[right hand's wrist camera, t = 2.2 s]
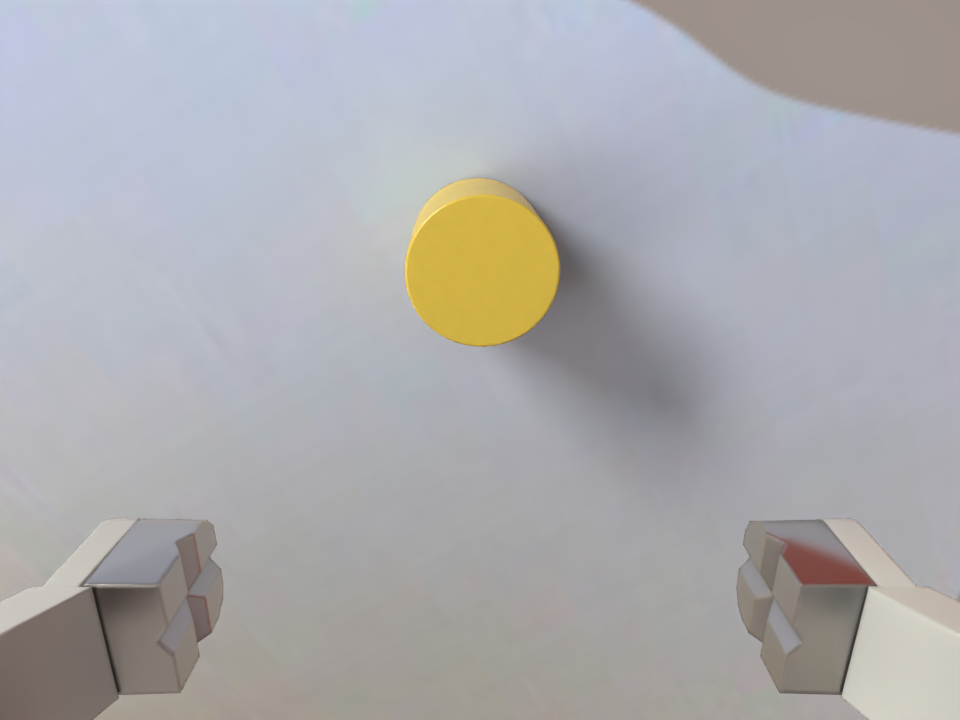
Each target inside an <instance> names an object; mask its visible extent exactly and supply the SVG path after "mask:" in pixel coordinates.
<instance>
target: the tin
mask: <svg viewBox="0 0 960 720" xmlns="http://www.w3.org/2000/svg"><path fill="white" fill-rule="evenodd" d="M559 280H560V259H559V254H558V249H557V246H556V243H555V241H554V238H553V236H552V234H551V232H550V231H549V229H548V228H547V226H546V225H545V223H544V222H543V221H542V219H541V218H540V217H539V215H538V214H537V213H536V211H535V210H534V209H533V207H532V206H531V205H530V203H529V202H528V201H527V200H526V199H525V198H524V196H522V195H521V194H520V193H519V192H518V191H516V190H515V189H513V188H512V187H510V186H508V185H506V184H504V183H502V182H499V181H496V180H492V179H486V178H471V179H464V180H460V181H457V182H454V183H452V184H449V185H447V186H446V187H444V188H442V189H441V190H439V191H438V192H437V193H435V194H434V195H433V196H432V197H431V198H430V199H429V200H428V201H427V203H426V204H425V205H424V206H423V208H422V210H421V211H420V213H419V215H418V217H417V220H416V222H415V225H414V229H413V233H412V236H411V240H410V243H409V247H408V251H407V255H406V260H405V282H406V288H407V291H408V295H409V298H410V300H411V302H412V305H413V306H414V308H415V310H416V311H417V313H418V314H419V316H420V317H421V318H422V320H423V321H424V322H425V323H426V324H427V325H428V326H429V327H430V328H431V329H433V330H434V331H435V332H437V333H438V334H440V335H442V336H443V337H445V338H447V339H449V340H452V341H454V342H456V343H460V344H464V345H469V346H495V345H499V344H503V343H506V342H509V341H512V340H514V339H516V338H518V337H520V336H522V335H524V334H525V333H527V332H528V331H529V330H531V329H532V328H533V327H534V326H535V325H536V324H538V323H539V321H540V320H541V319H542V318H543V317H544V316H545V314H546V313H547V311H548V310H549V308H550V306H551V304H552V302H553V300H554V298H555V295H556V293H557V290H558V285H559Z"/></svg>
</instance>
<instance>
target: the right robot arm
mask: <svg viewBox="0 0 960 720" xmlns="http://www.w3.org/2000/svg"><path fill="white" fill-rule="evenodd" d="M216 545H217V541H216V536H215V532H214V527H213V525H212V524H211V523H210V522H209V521H208V520H181V519H139V518H136V519H108V520H105V521H102V522H101V523H100V524H99V525H98V526H97V528H96V529H95V530H94V531H93V532H92V533H91V534H90V535H89V536H88V537H87V538H86V540H85V541H84V542H83V543H82V544H81V545H80V546H79V547H78V548H77V549H76V550H75V552H74V553H73V554H72V555H71V556H70V557H69V558H68V559H67V560H66V561H65V562H64V564H63V565H62V566H61V567H60V568H59V569H58V570H57V571H56V572H55V573H54V574H53V576H52V577H51V578H50V579H49V580H48V581H47V582H46V583H45V584H44V585H43V586H42V587H30V588H28V589H26V590H24V591H22V592H19V593H17V594H15V595H13V596H11V597H9V598H7V599H5V600H3V601H1V602H0V720H93V719H94V718H95V717H96V716H98V715H99V714H100V713H101V712H103V711H104V710H105V709H106V708H107V707H109V706H110V705H111V704H112V703H113V702H115V701H116V700H117V699H118V698H119V696H118V695H129V694H163V693H181V691H182V689H183V687H184V685H185V684H186V682H187V680H188V678H189V676H190V674H191V672H192V670H193V668H194V666H195V664H196V662H197V660H198V658H199V650H198V644H197V643H198V642H199V641H201V640H202V639H203V638H205V637H206V636H208V635H209V634H211V633H212V631H213V629H214V626H215V624H216V622H217V620H218V618H219V614H220V609H221V605H222V600H223V578H222V572H221V568H220V567H219V566H218V565H217V564H216V563H215V562H214V561H213V560H212V559H211V558H210V556H211V554H212V552H213V550H214V549H215V547H216ZM743 545H744V547H745V549H746V550H747V552H748V554H749V556H750V558H749V559H748V560H747V561H746V562H745V563H744V564H743V565H742V566H741V567H740V568H739V572H738V580H737V598H738V607H739V610H740V614H741V617H742V620H743V622H744V624H745V626H746V629H747V631H748V633H749V634H751V635H752V636H754V637H755V638H757V639H758V640H759V641H761V642H762V643H763V644H762V650H761V658H762V660H763V662H764V664H765V666H766V668H767V670H768V672H769V674H770V676H771V678H772V680H773V681H774V683H775V685H776V687H777V689H778V691H779V693H795V694H831V695H842V696H841V698H842V699H843V700H845V701H846V702H847V703H848V704H849V705H851V706H852V707H853V708H854V709H855V710H857V711H858V712H859V713H860V714H861V715H863V716H864V717H865V718H866V719H867V720H960V602H959V601H957V600H955V599H953V598H951V597H949V596H947V595H945V594H943V593H941V592H938V591H936V590H934V589H932V588H930V587H918V586H917V585H916V584H915V583H914V582H913V581H912V580H911V579H910V578H909V577H908V576H907V574H906V573H905V572H904V571H903V570H902V569H901V568H900V567H899V566H898V565H897V563H896V562H895V561H894V560H893V559H892V558H891V557H890V556H889V555H888V554H887V553H886V551H885V550H884V549H883V548H882V547H881V546H880V545H879V544H878V543H877V542H876V541H875V539H874V538H873V537H872V536H871V535H870V534H869V533H868V532H867V531H866V530H865V529H864V527H863V526H862V525H861V524H860V523H859V522H857V521H855V520H853V519H851V518H838V519H817V520H779V521H750V522H749V524H748V526H747V528H746V530H745V535H744V541H743Z"/></svg>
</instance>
